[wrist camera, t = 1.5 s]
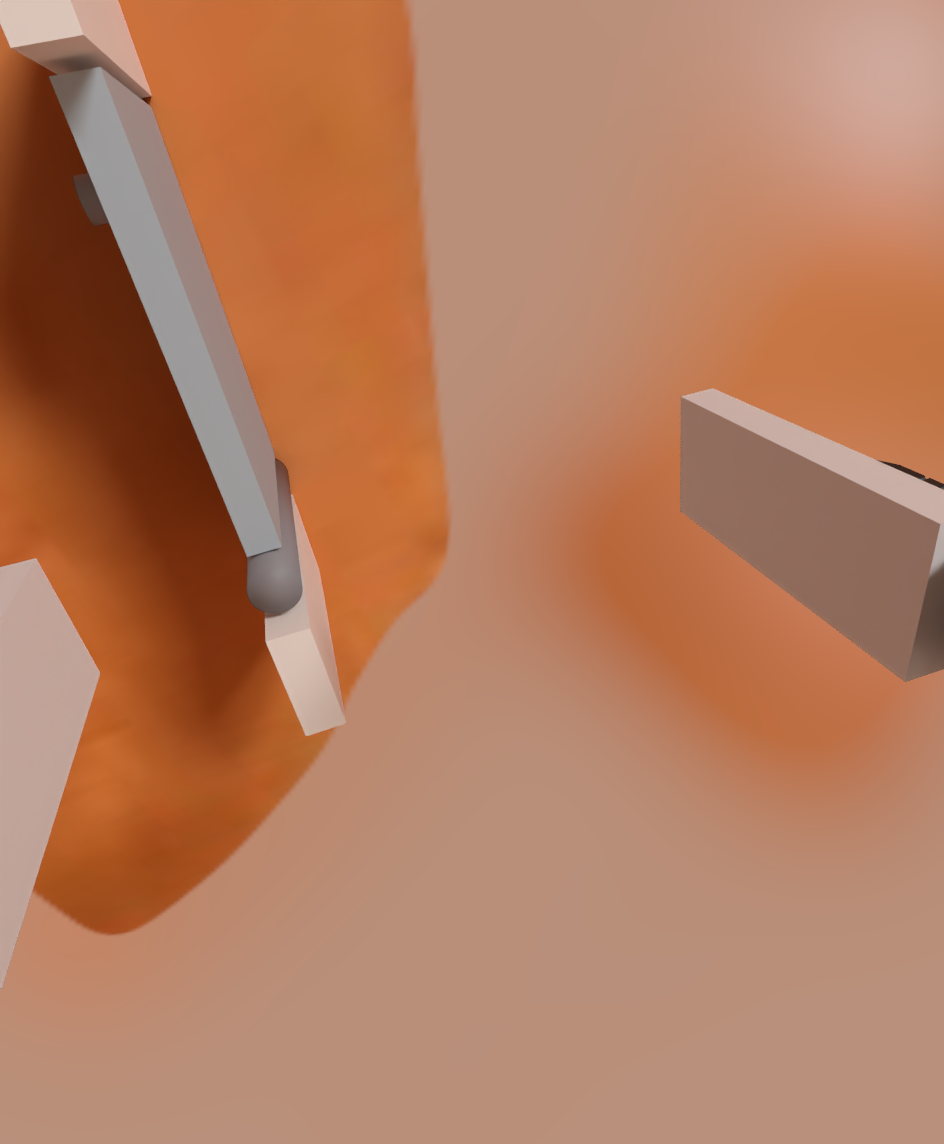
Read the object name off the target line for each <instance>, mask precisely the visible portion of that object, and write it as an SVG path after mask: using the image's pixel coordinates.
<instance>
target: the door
mask: <svg viewBox="0 0 944 1144" xmlns="http://www.w3.org/2000/svg"><path fill="white" fill-rule="evenodd" d="M49 78H50V81H51V83H52V86H53V88H54V91H55V93H56V95H57V98H58V100H59V103H60V105H61V108H62V110H63V112H64V115H65V117H66V120H67V122H68V124H69V127H70V129H71V132H72V134H73V137H74V139H75V141H76V144H77V146H78V149H79V151H80V154H81V156H82V158H83V161H84V163H85V166H86V168H87V171H88V173H83V174H79V175H74V176H73V182H74V186H75V189H76V192H77V195H78V197H79V200H80V202H81V204H82V207H83V209H84V211H85V213H86V215H87V216H88V218H89V220H90V221H91V223H92V224H93V225H94V226H97V225H102V224H107V223H109V224H110V226H111V229H112V231H113V233H114V236H115V238H116V241H117V243H118V246H119V248H120V250H121V253H122V255H123V258H124V260H125V263H126V265H127V267H128V270H129V272H130V275H131V277H132V279H133V282H134V284H135V287H136V289H137V292H138V294H139V296H140V299H141V301H142V304H143V306H144V309H145V311H146V313H147V316H148V318H149V321H150V323H151V325H152V328H153V330H154V333H155V335H156V338H157V340H158V342H159V345H160V347H161V350H162V352H163V355H164V357H165V359H166V362H167V364H168V367H169V369H170V371H171V374H172V376H173V379H174V381H175V384H176V386H177V388H178V391H179V393H180V396H181V398H182V401H183V403H184V405H185V408H186V410H187V413H188V415H189V418H190V420H191V422H192V425H193V427H194V430H195V432H196V434H197V437H198V439H199V442H200V444H201V447H202V449H203V451H204V454H205V456H206V459H207V461H208V464H209V466H210V468H211V471H212V473H213V476H214V478H215V480H216V483H217V485H218V488H219V490H220V493H221V495H222V497H223V500H224V502H225V505H226V507H227V510H228V512H229V514H230V517H231V519H232V522H233V524H234V526H235V529H236V531H237V534H238V536H239V539H240V541H241V543H242V546H243V548H244V551H245V553H246V556H247V596H248V599H249V600H250V602H251V603H252V605H253V606H254V607H256V608H257V609H259V610H261V611H263V612H266V613H273V614H275V613H282V612H286V611H288V610H290V609H292V608H293V607H294V606H295V605H296V604H297V603H298V602H299V601H300V599H301V596H302V592H303V587H302V579H301V571H300V563H299V555H298V547H297V540H296V532H295V524H294V516H293V508H292V500H291V492H290V484H289V476H288V470H287V468H286V466H285V465H284V464H283V463H282V462H281V461H280V460H278V459H275V456H274V450H273V448H272V445H271V442H270V439H269V436H268V434H267V431H266V428H265V425H264V422H263V420H262V417H261V414H260V411H259V408H258V405H257V403H256V400H255V397H254V394H253V391H252V389H251V386H250V383H249V380H248V377H247V375H246V372H245V369H244V366H243V363H242V361H241V358H240V355H239V352H238V349H237V346H236V344H235V341H234V338H233V335H232V332H231V330H230V327H229V324H228V321H227V318H226V316H225V313H224V310H223V307H222V304H221V302H220V299H219V296H218V293H217V290H216V287H215V285H214V282H213V279H212V276H211V273H210V271H209V268H208V265H207V262H206V259H205V257H204V254H203V251H202V248H201V245H200V243H199V240H198V237H197V234H196V231H195V228H194V226H193V223H192V220H191V217H190V214H189V212H188V209H187V206H186V203H185V200H184V198H183V195H182V192H181V189H180V186H179V184H178V181H177V178H176V175H175V172H174V169H173V167H172V164H171V161H170V158H169V155H168V153H167V150H166V147H165V144H164V141H163V139H162V136H161V133H160V130H159V127H158V125H157V122H156V119H155V116H154V113H153V110H152V108H151V106H149V105H148V104H147V103H146V102H144V101H143V100H142V99H140V98H139V97H138V96H137V95H135V94H134V93H133V92H132V91H130V90H129V89H128V88H127V87H125V86H124V85H123V84H121V83H120V82H119V81H118V80H116V79H115V78H114V77H113V76H111V75H110V74H109V73H107V72H106V71H105V70H104V69H102V68H101V67H96V68H91V69H86V70H80V71H75V72H70V73H64V74H59V75H54V76H49Z"/></svg>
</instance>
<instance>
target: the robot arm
mask: <svg viewBox="0 0 944 1144" xmlns="http://www.w3.org/2000/svg"><path fill="white" fill-rule="evenodd" d="M680 473H681V475H680V476H681V480H680V485H681V486H680V489H681V490H680V503H681V504H680V505H681V506H680V511H681V512H682V513H683V514H685V515H686V516H687V517H689V518H690V519H691V520H693V521H694V522H695V523H696V524H698V525H699V526H700V527H702V528H703V529H704V530H706V531H707V532H708V533H710V534H711V535H712V536H714V537H715V538H716V539H718V540H719V541H720V542H721V543H723V544H724V545H726V546H727V547H728V548H729V549H731V550H732V551H733V552H735V553H736V554H737V555H739V556H740V557H741V558H743V559H744V560H745V561H747V562H748V563H749V564H750V565H752V566H753V567H754V568H756V569H757V570H758V571H760V572H761V573H763V574H764V575H765V576H766V577H768V578H769V579H770V580H772V581H773V582H774V583H776V584H777V585H778V586H779V587H781V588H782V589H784V590H785V591H786V592H787V593H789V594H790V595H791V596H793V597H794V598H795V599H797V600H798V601H799V602H801V603H802V604H803V605H804V606H806V607H807V608H808V609H810V610H811V611H812V612H814V613H815V614H816V615H818V616H819V617H820V618H822V619H823V620H824V621H826V622H827V623H828V624H829V625H831V626H832V627H833V628H835V629H836V630H837V631H839V632H840V633H841V634H843V635H844V636H846V637H847V638H848V639H849V640H851V641H852V642H853V643H855V644H856V645H857V646H858V647H860V648H861V649H863V650H864V651H865V652H866V653H868V654H869V655H871V656H872V657H873V658H874V659H876V660H877V661H878V662H880V663H881V664H882V665H883V666H885V667H886V668H888V669H889V670H890V671H891V672H893V673H894V674H895V675H897V676H898V677H899V678H901V679H902V680H903V681H905V682H907V681H910V680H913V679H916V678H918V677H921V676H924V675H927V674H930V673H933V672H936V671H939V670H942V669H944V484H942V483H940V482H938V481H935V480H933V479H931V478H929V479H926V478H925V476H924V475H922V474H919V473H917V472H914V471H912V470H910V469H907V468H905V467H903V466H901V465H897V464H892V463H887V462H883V461H878V460H874V459H872V458H870V457H868V456H865V455H863V454H861V453H859V452H856V451H854V450H852V449H850V448H847V447H845V446H843V445H841V444H838V443H836V442H834V441H831V440H829V439H827V438H825V437H822V436H820V435H818V434H815V433H813V432H811V431H809V430H806V429H804V428H802V427H800V426H797V425H795V424H792V423H790V422H788V421H786V420H784V419H781V418H779V417H777V416H774V415H772V414H770V413H768V412H765V411H763V410H761V409H759V408H756V407H754V406H752V405H749V404H747V403H745V402H743V401H740V400H738V399H736V398H733V397H731V396H729V395H726V394H724V393H722V392H720V391H718V390H715V389H709V390H705V391H701V392H698V393H693V394H689V395H685V396H682V397H681V472H680ZM99 675H100V672H99V670H98V668H97V666H96V665H95V663H94V661H93V659H92V657H91V656H90V654H89V652H88V650H87V648H86V647H85V645H84V643H83V641H82V640H81V638H80V636H79V634H78V632H77V631H76V629H75V627H74V625H73V623H72V622H71V620H70V618H69V616H68V614H67V613H66V611H65V609H64V607H63V606H62V604H61V602H60V600H59V598H58V597H57V595H56V593H55V591H54V589H53V588H52V586H51V584H50V582H49V580H48V579H47V577H46V575H45V573H44V571H43V570H42V568H41V566H40V564H39V563H38V561H37V559H36V558H35V559H31V560H27V561H23V562H19V563H15V564H11V565H7V566H3V567H0V989H1V988H2V987H3V983H4V980H5V976H6V974H7V971H8V967H9V964H10V961H11V958H12V954H13V951H14V948H15V945H16V941H17V938H18V935H19V932H20V929H21V925H22V922H23V919H24V916H25V913H26V909H27V906H28V903H29V900H30V897H31V894H32V890H33V887H34V884H35V881H36V877H37V874H38V871H39V868H40V865H41V861H42V858H43V855H44V852H45V849H46V845H47V842H48V839H49V836H50V833H51V829H52V826H53V823H54V820H55V817H56V813H57V810H58V807H59V804H60V800H61V797H62V794H63V791H64V788H65V784H66V781H67V778H68V775H69V772H70V768H71V765H72V762H73V759H74V756H75V752H76V749H77V746H78V743H79V740H80V736H81V733H82V730H83V727H84V723H85V720H86V717H87V714H88V711H89V707H90V704H91V701H92V698H93V695H94V691H95V688H96V685H97V682H98V679H99Z"/></svg>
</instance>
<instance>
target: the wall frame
mask: <svg viewBox="0 0 944 1144" xmlns="http://www.w3.org/2000/svg"><path fill="white" fill-rule="evenodd" d="M0 24H1V26H2V29H3V31H4V33H5V36H6V38H7V40H8V43H9V45H10V47H11V48H12V49H13V50H15V51H17V52H19V53H20V54H22V55H24V56H26V57H27V58H29V59H31V60H33V61H34V62H36V63H38V64H40V65H41V66H43V67H45V68H47V69H48V70H50V71H52V72H54V73H55V74H57V75H59V74H64V73H70V72H75V71H80V70H86V69H91V68H96V67H101V68H102V69H104V70H105V71H106V72H107V73H109V74H110V75H111V76H113V77H114V78H115V79H116V80H118V81H119V82H120V83H121V84H123V85H124V86H125V87H127V88H128V89H129V90H130V91H132V92H133V93H134V94H135V95H137V96H138V97H139V98H140V99H141V98H146V97H151V96H152V95H151V92H150V89H149V86H148V84H147V81H146V78H145V75H144V72H143V69H142V67H141V64H140V61H139V58H138V55H137V52H136V50H135V47H134V44H133V41H132V38H131V35H130V33H129V30H128V27H127V24H126V21H125V18H124V16H123V13H122V10H121V7H120V4H119V1H118V0H0ZM291 500H292V508H293V516H294V524H295V532H296V540H297V547H298V555H299V563H300V571H301V579H302V587H303V592H302V596H301V599H300V601H299V602H298V603H297V604H296V605H295V606H294V607H293V608H292V609H290V610H288V611H286V612H282V613H275V614H273V613H266V612H265V642H266V644H267V647H268V649H269V651H270V654H271V656H272V658H273V661H274V663H275V665H276V668H277V670H278V672H279V674H280V677H281V679H282V681H283V684H284V686H285V688H286V691H287V693H288V695H289V698H290V700H291V702H292V705H293V707H294V709H295V712H296V714H297V716H298V719H299V721H300V723H301V726H302V728H303V730H304V733H305V735H306V736H309V735H312V734H315V733H318V732H321V731H324V730H327V729H330V728H333V727H336V726H339V725H342V724H345V723H346V720H345V714H344V708H343V702H342V697H341V691H340V685H339V679H338V674H337V668H336V662H335V657H334V651H333V645H332V639H331V634H330V628H329V622H328V617H327V611H326V605H325V599H324V594H323V588H322V582H321V577H320V571H319V568H318V565H317V562H316V559H315V557H314V554H313V551H312V548H311V545H310V542H309V540H308V537H307V534H306V531H305V528H304V525H303V523H302V520H301V517H300V514H299V511H298V508H297V506H296V503H295V500H294V497H293V494H291Z"/></svg>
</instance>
